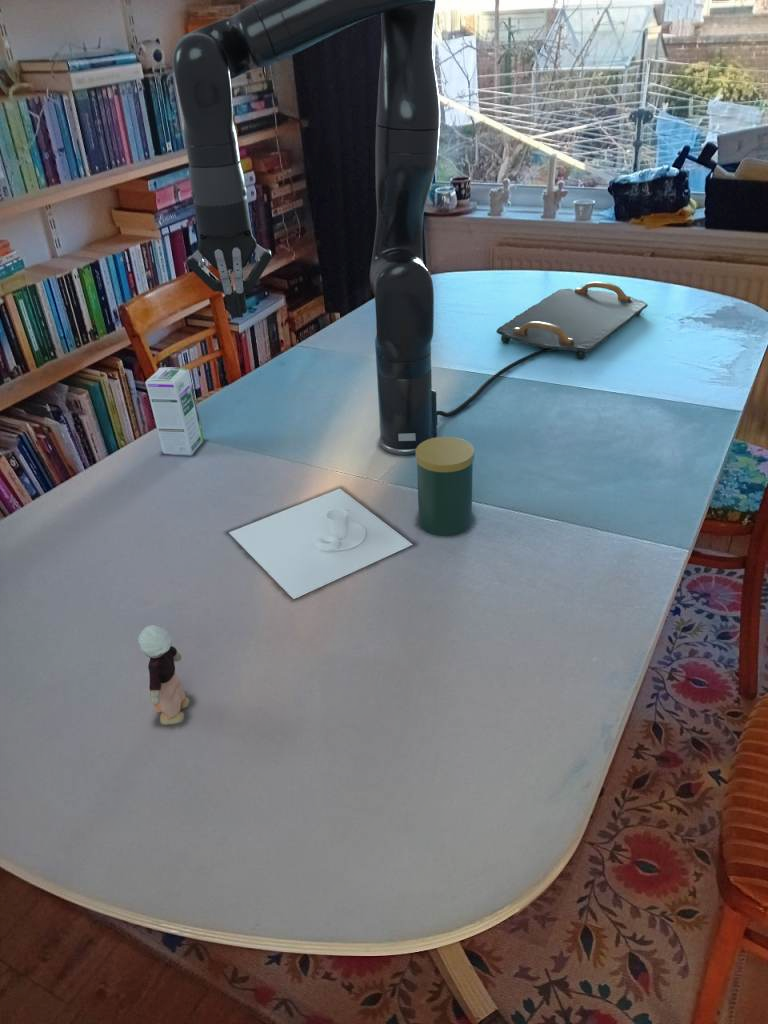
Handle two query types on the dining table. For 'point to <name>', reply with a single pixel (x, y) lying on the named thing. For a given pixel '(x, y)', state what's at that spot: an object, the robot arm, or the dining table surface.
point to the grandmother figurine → (163, 675)
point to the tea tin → (445, 485)
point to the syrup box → (175, 410)
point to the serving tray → (573, 319)
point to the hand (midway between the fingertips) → (238, 315)
